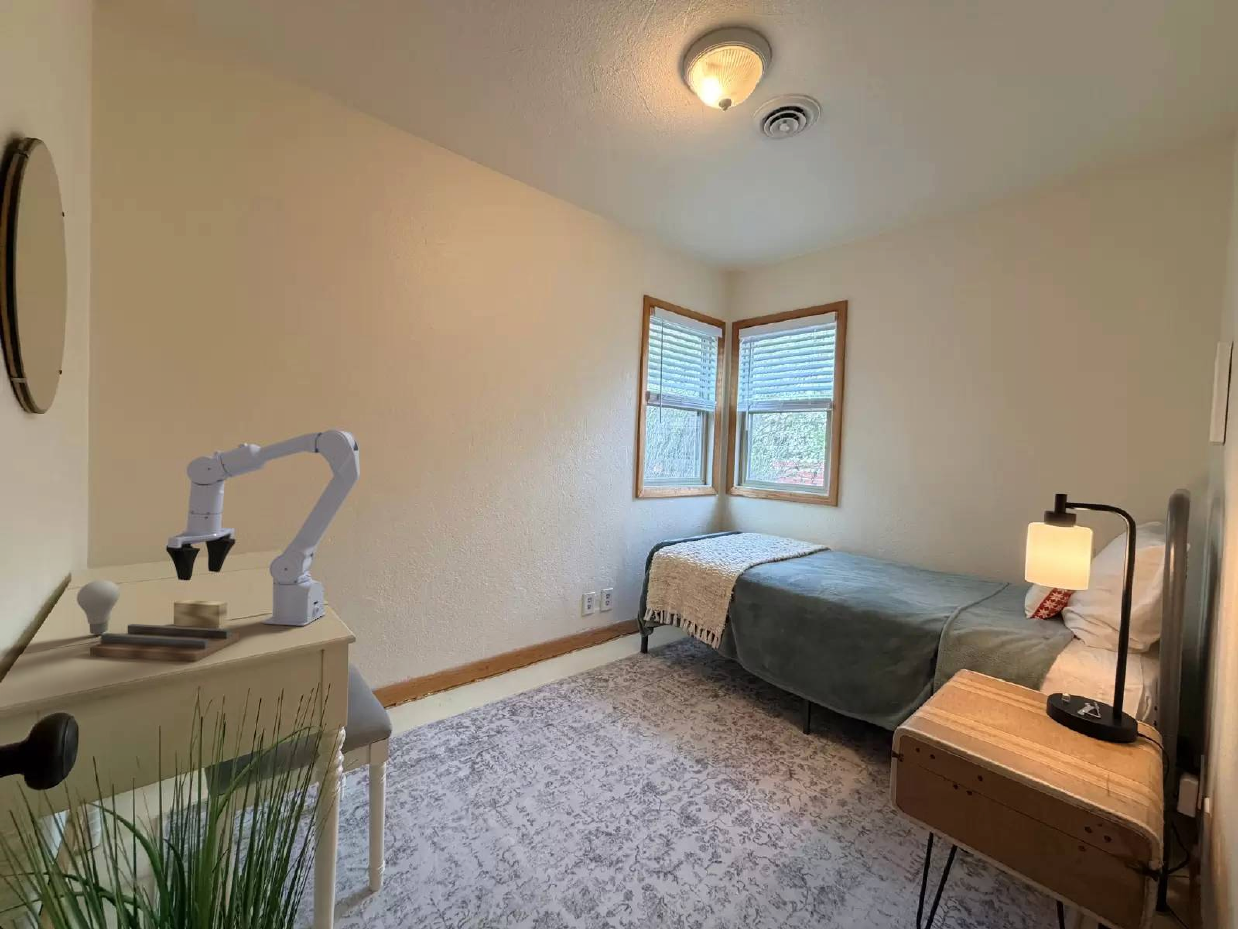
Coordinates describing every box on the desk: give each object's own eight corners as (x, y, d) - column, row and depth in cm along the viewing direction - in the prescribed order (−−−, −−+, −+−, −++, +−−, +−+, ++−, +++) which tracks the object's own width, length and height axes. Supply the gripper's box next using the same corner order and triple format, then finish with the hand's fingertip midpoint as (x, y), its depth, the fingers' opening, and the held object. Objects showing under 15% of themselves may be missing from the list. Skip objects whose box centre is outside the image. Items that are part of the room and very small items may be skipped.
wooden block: (226, 625, 112) (226, 602, 112) (219, 628, 110) (219, 605, 110) (182, 622, 113) (182, 599, 112) (173, 625, 111) (173, 602, 110)
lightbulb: (92, 642, 100) (92, 586, 100) (68, 638, 102) (68, 583, 101) (128, 631, 106) (128, 578, 106) (104, 628, 108) (104, 575, 107)
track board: (238, 640, 104) (238, 625, 104) (195, 661, 94) (195, 645, 94) (142, 635, 105) (142, 620, 105) (89, 655, 95) (89, 639, 95)
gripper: (215, 506, 118) (209, 566, 119) (155, 514, 104) (149, 581, 104) (245, 510, 118) (239, 569, 118) (189, 518, 104) (183, 585, 104)
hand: (199, 575), depth 111 cm, fingers open, 7 cm apart
